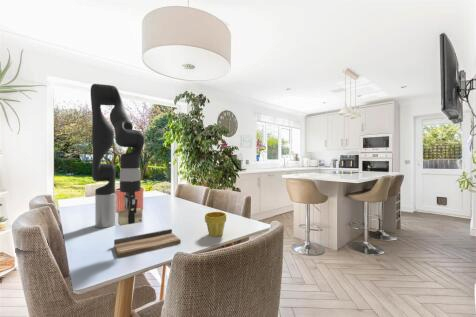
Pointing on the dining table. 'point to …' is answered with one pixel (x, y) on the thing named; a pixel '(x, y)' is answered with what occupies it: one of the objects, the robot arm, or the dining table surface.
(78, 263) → the dining table surface
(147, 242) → the walnut board
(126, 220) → the beige block
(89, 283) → the dining table surface
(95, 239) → the dining table surface
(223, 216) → the plant pot
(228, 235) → the dining table surface
